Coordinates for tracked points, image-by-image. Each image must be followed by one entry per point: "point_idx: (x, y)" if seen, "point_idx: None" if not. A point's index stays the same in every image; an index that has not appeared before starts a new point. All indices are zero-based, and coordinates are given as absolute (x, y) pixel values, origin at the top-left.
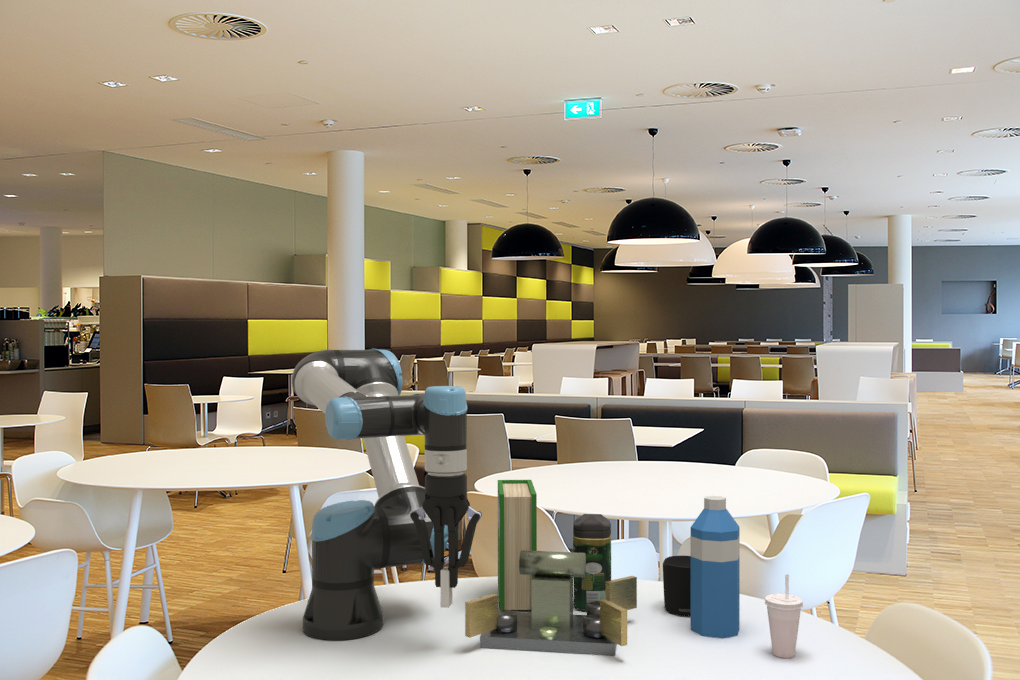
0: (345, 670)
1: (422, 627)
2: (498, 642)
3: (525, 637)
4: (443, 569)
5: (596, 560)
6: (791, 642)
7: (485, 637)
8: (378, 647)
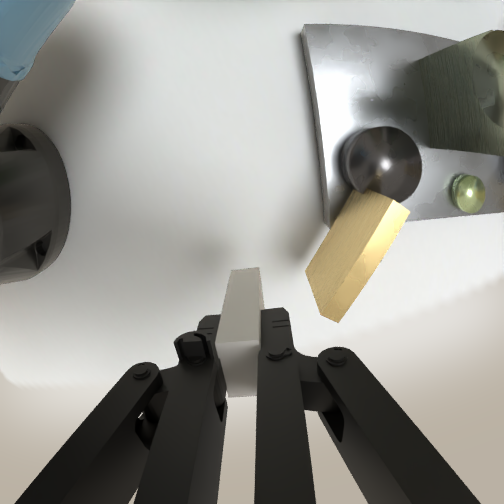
0: None
1: (140, 132)
2: None
3: (427, 209)
4: (233, 381)
5: None
6: None
7: None
8: (116, 279)
